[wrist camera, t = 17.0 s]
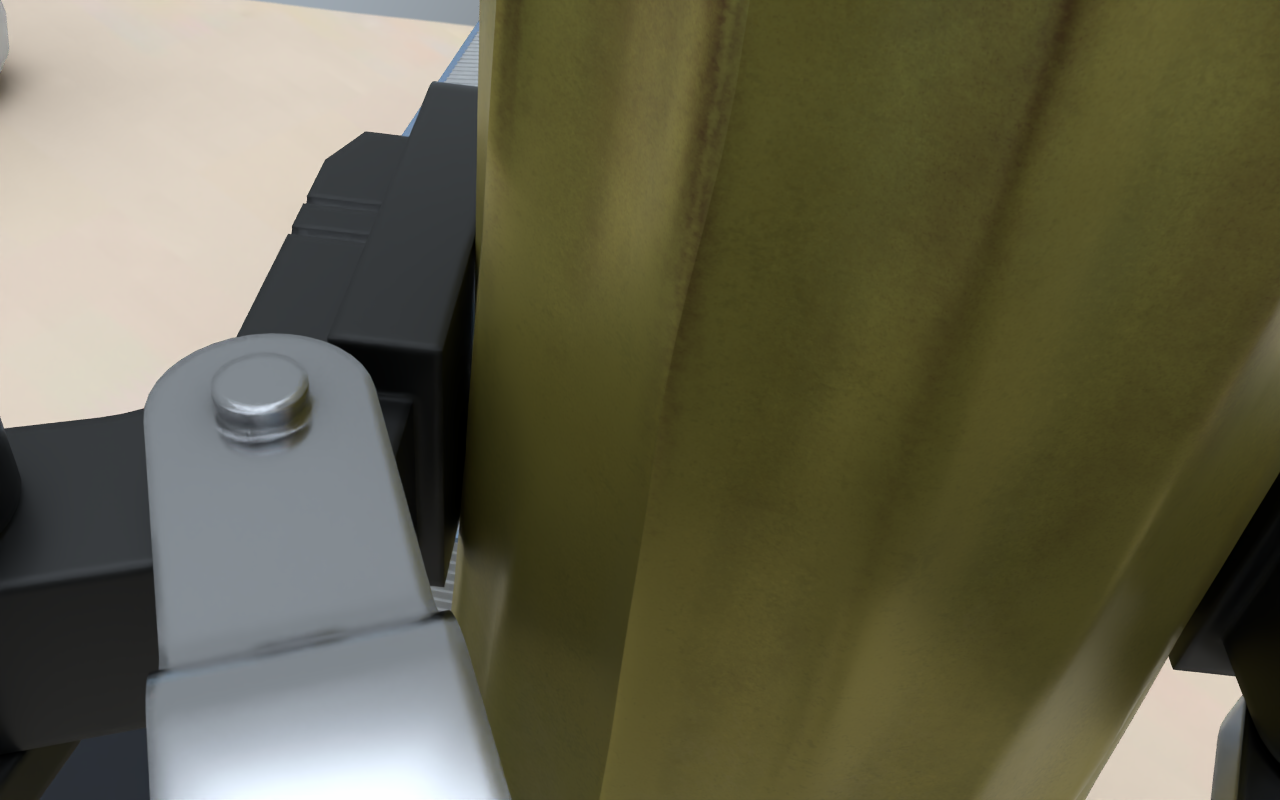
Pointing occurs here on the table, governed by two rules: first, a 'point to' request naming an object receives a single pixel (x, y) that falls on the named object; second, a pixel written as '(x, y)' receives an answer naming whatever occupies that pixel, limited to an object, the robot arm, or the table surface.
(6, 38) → the plastic bottle
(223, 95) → the table surface
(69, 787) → the mat
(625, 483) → the vase
